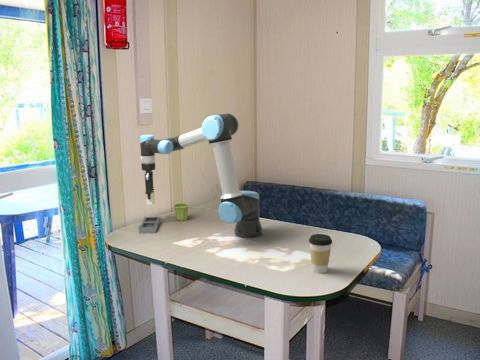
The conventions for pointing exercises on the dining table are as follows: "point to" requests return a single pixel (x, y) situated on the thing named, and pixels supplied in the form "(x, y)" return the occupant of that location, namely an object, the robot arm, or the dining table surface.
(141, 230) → the grey double window frame
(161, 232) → the dining table surface
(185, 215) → the plant pot
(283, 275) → the dining table surface
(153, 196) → the yellow rectangular block
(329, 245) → the coffee cup
